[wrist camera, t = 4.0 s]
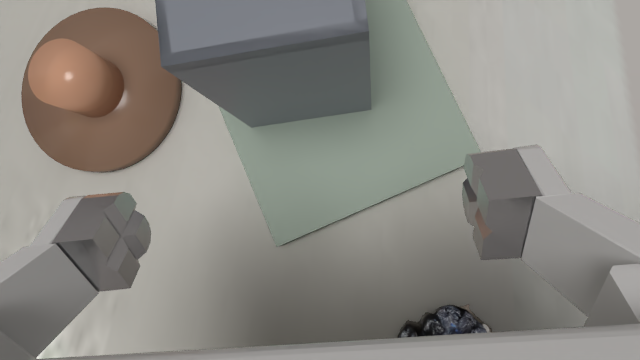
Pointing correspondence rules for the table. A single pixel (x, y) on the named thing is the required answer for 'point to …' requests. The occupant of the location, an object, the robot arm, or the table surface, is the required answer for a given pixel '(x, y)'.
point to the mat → (359, 137)
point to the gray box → (270, 55)
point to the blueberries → (445, 323)
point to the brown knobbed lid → (99, 91)
